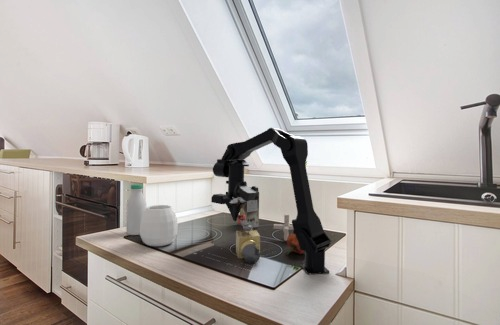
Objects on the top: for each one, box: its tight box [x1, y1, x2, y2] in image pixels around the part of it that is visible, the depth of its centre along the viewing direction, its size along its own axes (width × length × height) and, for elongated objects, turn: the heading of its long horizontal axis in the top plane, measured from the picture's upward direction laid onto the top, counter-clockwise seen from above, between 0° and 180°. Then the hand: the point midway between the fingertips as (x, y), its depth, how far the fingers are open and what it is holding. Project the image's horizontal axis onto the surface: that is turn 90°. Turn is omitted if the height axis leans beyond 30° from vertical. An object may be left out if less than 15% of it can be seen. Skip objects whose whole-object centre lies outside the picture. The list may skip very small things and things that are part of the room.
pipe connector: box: [273, 213, 294, 242], centre depth 114 cm, size 10×10×10 cm
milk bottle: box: [125, 183, 148, 236], centre depth 120 cm, size 8×8×20 cm
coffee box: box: [239, 191, 260, 229], centre depth 136 cm, size 9×6×16 cm
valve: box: [235, 230, 261, 265], centre depth 97 cm, size 17×7×8 cm, turn 9°
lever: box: [237, 213, 254, 231], centre depth 103 cm, size 15×3×3 cm, turn 12°
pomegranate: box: [286, 232, 305, 256], centre depth 99 cm, size 7×7×10 cm
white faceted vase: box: [139, 204, 179, 247], centre depth 107 cm, size 13×13×14 cm
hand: (234, 220), depth 108 cm, fingers closed
